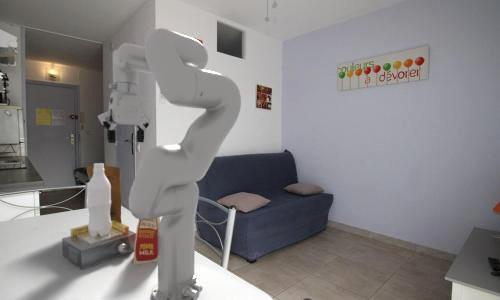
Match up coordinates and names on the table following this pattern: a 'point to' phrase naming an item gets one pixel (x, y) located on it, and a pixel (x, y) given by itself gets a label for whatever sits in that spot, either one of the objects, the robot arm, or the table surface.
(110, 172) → the pancake mix bag
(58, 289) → the table surface
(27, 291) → the table surface
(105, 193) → the water bottle
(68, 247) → the gray box with knob
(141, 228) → the milk carton
